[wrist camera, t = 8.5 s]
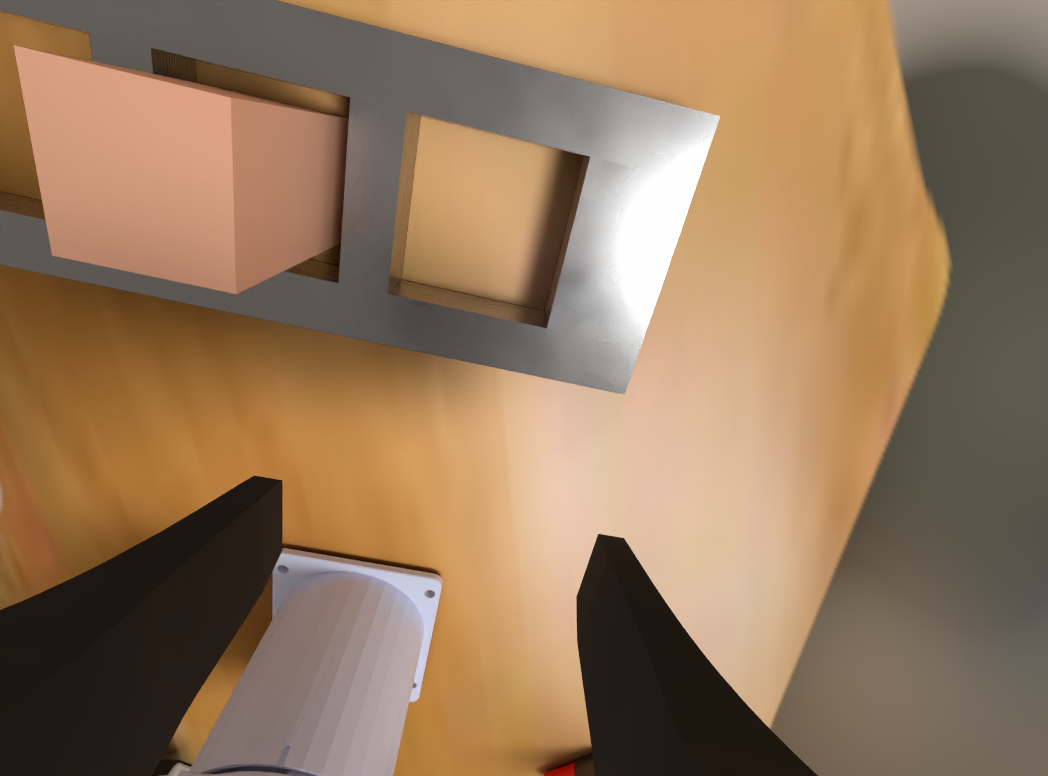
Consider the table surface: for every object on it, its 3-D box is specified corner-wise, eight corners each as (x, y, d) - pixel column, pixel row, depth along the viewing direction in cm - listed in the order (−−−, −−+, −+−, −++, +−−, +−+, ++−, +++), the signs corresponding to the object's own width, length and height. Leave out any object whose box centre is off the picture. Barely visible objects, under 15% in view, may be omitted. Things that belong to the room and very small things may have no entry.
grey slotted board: (615, 372, 20) (624, 394, 18) (-95, 222, 18) (-166, 230, 16) (698, 120, 16) (720, 116, 14) (-194, -111, 14) (-304, -151, 12)
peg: (340, 243, 18) (236, 294, 11) (225, 217, 17) (51, 255, 11) (348, 118, 16) (230, 98, 10) (220, 87, 16) (13, 44, 9)
